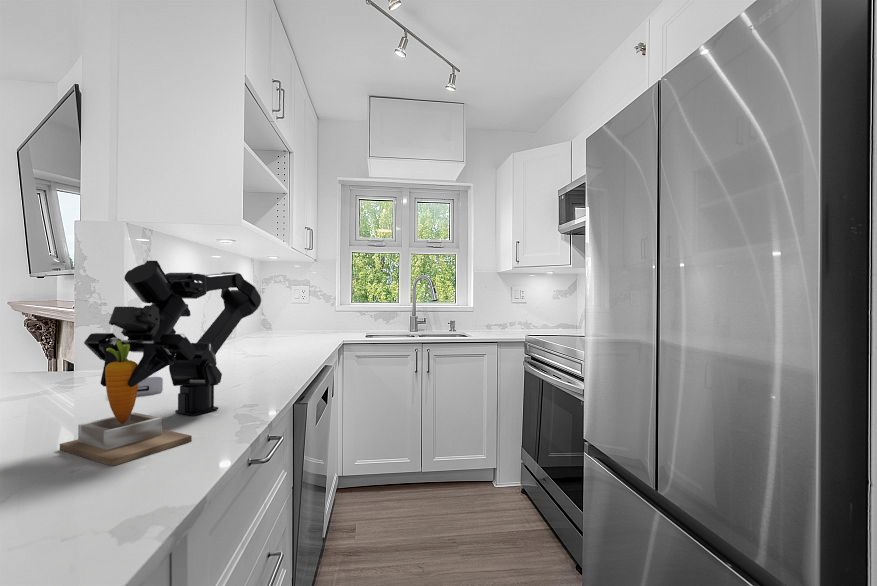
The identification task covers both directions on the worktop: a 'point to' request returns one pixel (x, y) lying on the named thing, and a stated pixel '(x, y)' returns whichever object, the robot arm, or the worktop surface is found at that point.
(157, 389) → the charger
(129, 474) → the worktop surface
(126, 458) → the holder
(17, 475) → the worktop surface
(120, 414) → the carrot
